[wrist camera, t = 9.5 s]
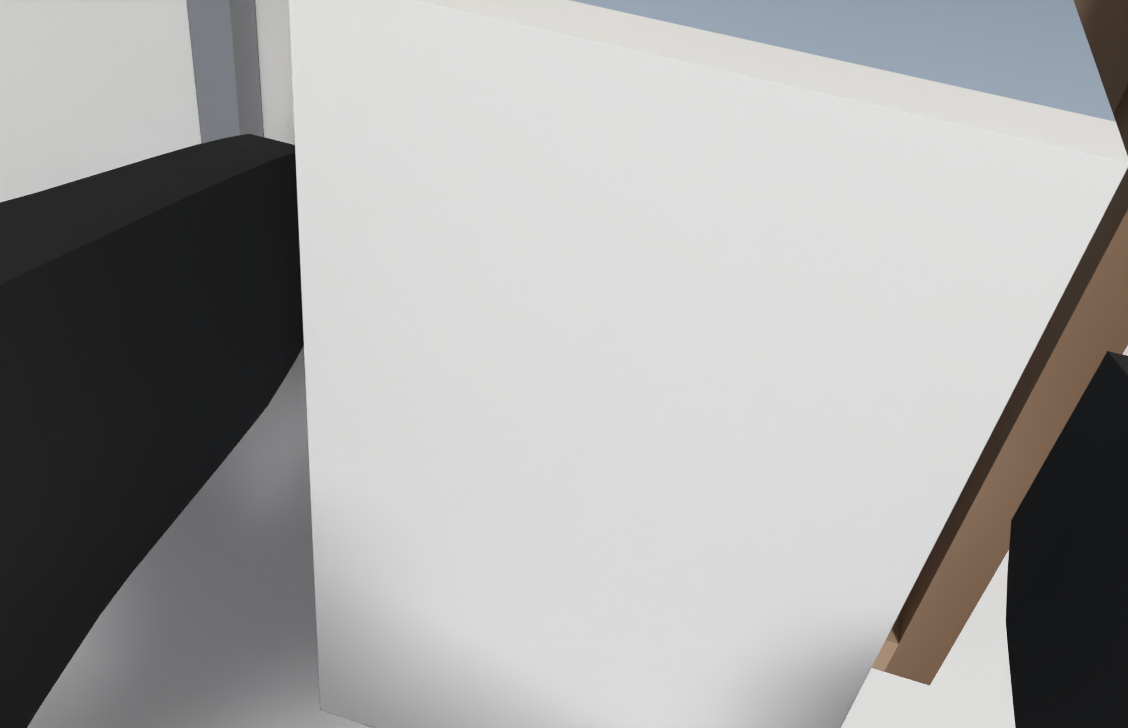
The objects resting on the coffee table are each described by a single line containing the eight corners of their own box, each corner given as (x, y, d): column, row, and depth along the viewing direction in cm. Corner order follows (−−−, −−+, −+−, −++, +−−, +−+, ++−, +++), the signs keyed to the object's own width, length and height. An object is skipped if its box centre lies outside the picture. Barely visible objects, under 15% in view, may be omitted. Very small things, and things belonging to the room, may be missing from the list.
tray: (396, 397, 17) (327, 501, 15) (421, -492, 10) (297, -513, 8) (929, 549, 16) (929, 685, 14) (1385, -343, 9) (1517, -324, 7)
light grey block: (514, 354, 15) (319, 709, 10) (579, -201, 10) (287, -30, 6) (824, 439, 14) (771, 861, 9) (1034, -113, 10) (1130, 163, 5)
